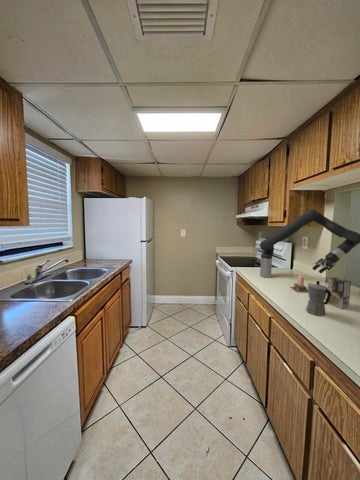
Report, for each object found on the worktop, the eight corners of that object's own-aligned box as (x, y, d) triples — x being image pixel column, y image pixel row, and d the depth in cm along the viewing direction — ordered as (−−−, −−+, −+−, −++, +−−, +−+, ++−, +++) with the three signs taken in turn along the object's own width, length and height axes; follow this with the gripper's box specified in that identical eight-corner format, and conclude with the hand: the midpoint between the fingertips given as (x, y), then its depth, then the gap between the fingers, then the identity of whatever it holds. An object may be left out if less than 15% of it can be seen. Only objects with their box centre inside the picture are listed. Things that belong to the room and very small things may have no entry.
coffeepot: (299, 307, 120) (301, 277, 118) (314, 307, 121) (316, 277, 119) (319, 320, 105) (322, 286, 103) (336, 320, 106) (339, 286, 104)
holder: (289, 287, 155) (289, 281, 155) (303, 288, 154) (303, 282, 153) (296, 293, 143) (296, 286, 143) (311, 294, 142) (312, 287, 142)
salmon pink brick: (297, 288, 151) (297, 275, 150) (299, 288, 151) (300, 275, 150) (300, 290, 146) (301, 277, 145) (303, 290, 146) (304, 277, 145)
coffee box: (349, 307, 121) (351, 281, 119) (342, 309, 118) (344, 282, 117) (332, 302, 129) (335, 277, 127) (326, 303, 127) (328, 278, 125)
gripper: (325, 250, 151) (307, 264, 153) (337, 253, 136) (318, 269, 139) (332, 257, 150) (314, 272, 153) (345, 261, 136) (325, 277, 139)
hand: (316, 270), depth 146 cm, fingers open, 8 cm apart
